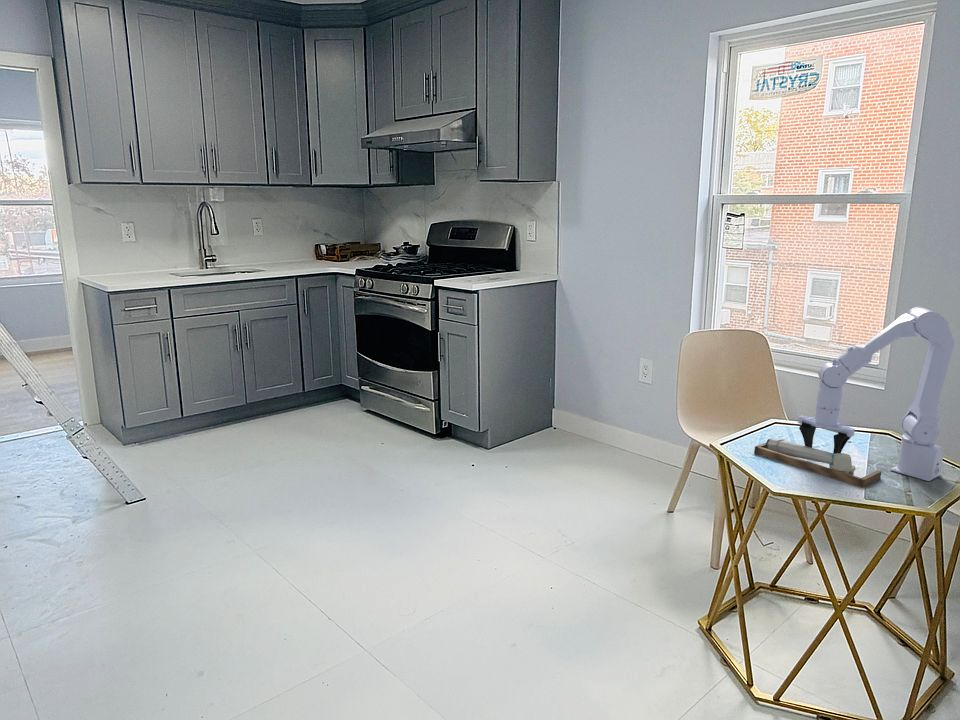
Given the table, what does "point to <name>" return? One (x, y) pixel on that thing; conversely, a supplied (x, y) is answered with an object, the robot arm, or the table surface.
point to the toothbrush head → (813, 455)
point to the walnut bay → (818, 467)
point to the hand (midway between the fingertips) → (821, 454)
